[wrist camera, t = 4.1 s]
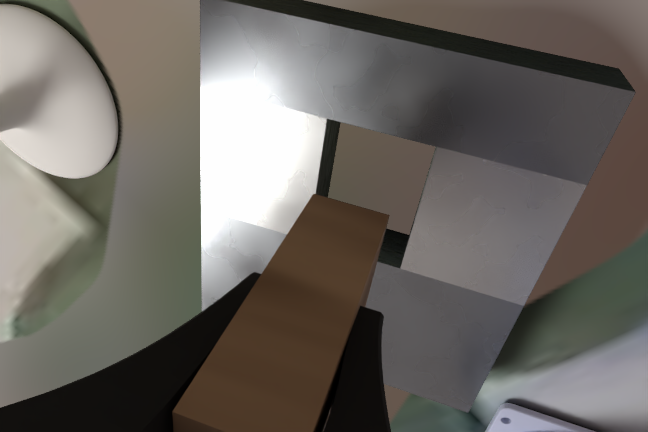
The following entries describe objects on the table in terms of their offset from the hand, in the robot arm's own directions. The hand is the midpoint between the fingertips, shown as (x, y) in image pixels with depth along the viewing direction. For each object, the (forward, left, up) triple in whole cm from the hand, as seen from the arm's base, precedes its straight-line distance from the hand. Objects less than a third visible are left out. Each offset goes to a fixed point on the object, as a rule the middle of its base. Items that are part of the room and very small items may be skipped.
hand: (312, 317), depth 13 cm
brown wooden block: (0, 0, -3) cm, 3 cm away
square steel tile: (-2, 0, -9) cm, 9 cm away
